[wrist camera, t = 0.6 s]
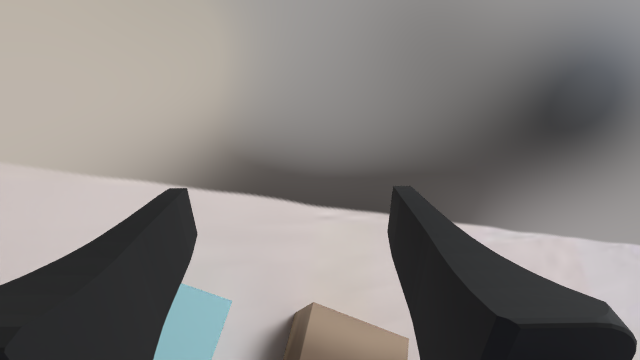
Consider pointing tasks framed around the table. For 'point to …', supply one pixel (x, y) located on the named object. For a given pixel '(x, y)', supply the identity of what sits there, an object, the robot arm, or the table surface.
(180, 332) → the teal cube
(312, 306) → the walnut block
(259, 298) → the table surface
